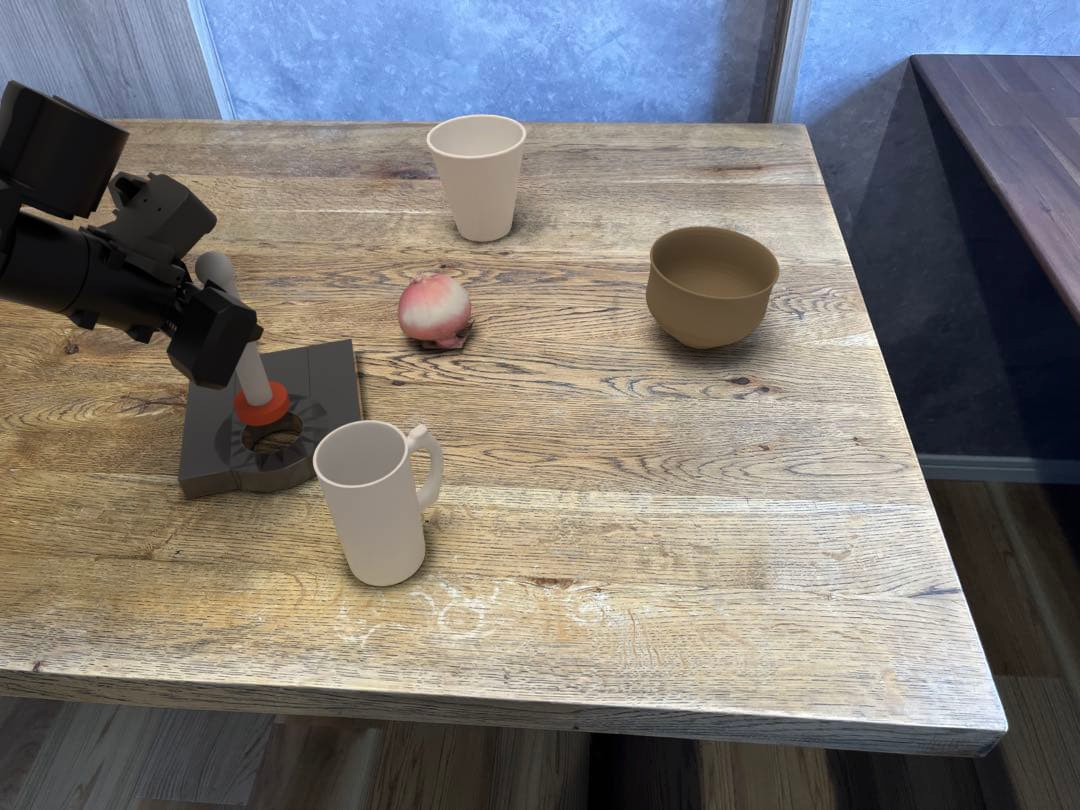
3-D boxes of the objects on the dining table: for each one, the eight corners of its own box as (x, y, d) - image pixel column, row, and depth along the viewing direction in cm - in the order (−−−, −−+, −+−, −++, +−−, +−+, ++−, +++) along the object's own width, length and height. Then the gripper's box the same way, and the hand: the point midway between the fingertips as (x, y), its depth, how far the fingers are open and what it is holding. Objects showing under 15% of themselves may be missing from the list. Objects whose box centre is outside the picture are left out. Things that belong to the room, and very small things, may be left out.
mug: (376, 605, 63) (346, 503, 55) (329, 555, 67) (294, 452, 59) (476, 533, 68) (462, 429, 60) (428, 490, 72) (408, 386, 63)
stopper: (236, 430, 70) (174, 274, 60) (237, 396, 73) (179, 243, 63) (290, 420, 71) (239, 265, 60) (289, 386, 74) (241, 234, 64)
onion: (457, 307, 92) (451, 251, 87) (488, 343, 87) (483, 286, 82) (391, 329, 89) (380, 274, 84) (419, 368, 84) (409, 312, 79)
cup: (535, 205, 108) (531, 114, 100) (525, 253, 99) (520, 157, 91) (447, 204, 109) (436, 113, 101) (430, 251, 101) (416, 156, 92)
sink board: (185, 509, 71) (176, 489, 69) (198, 384, 83) (190, 365, 82) (370, 472, 73) (365, 453, 72) (356, 357, 86) (351, 338, 84)
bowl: (763, 383, 80) (780, 299, 74) (635, 367, 83) (639, 284, 76) (767, 309, 89) (782, 228, 83) (651, 296, 92) (657, 217, 85)
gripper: (186, 204, 49) (365, 280, 62) (52, 123, 58) (232, 204, 71) (110, 370, 50) (302, 410, 63) (-8, 264, 59) (180, 317, 73)
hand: (252, 327), depth 67 cm, fingers closed on stopper, 2 cm apart
